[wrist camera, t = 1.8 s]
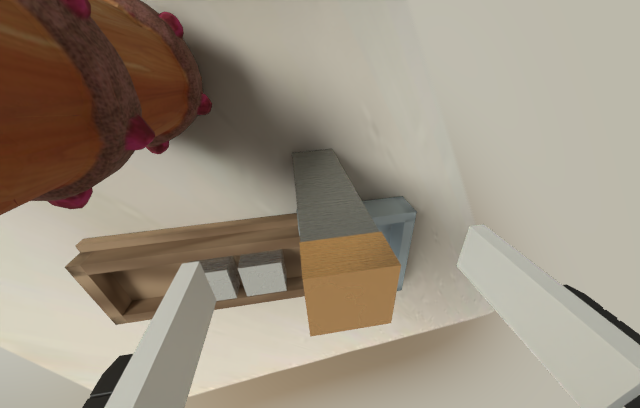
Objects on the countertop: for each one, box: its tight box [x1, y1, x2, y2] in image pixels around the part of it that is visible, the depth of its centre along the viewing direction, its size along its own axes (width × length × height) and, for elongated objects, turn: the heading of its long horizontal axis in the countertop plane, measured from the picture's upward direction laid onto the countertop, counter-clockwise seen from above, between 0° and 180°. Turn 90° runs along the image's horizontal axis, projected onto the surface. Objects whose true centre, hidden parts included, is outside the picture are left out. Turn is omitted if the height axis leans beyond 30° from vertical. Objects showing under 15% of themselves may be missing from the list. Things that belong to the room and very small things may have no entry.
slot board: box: [65, 213, 305, 325], centre depth 24 cm, size 10×20×3 cm, turn 93°
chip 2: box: [238, 249, 287, 296], centre depth 24 cm, size 4×4×2 cm
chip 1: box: [188, 256, 241, 301], centre depth 23 cm, size 4×4×2 cm
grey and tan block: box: [292, 149, 401, 336], centre depth 15 cm, size 4×4×14 cm
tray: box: [297, 196, 417, 291], centre depth 25 cm, size 11×11×3 cm
